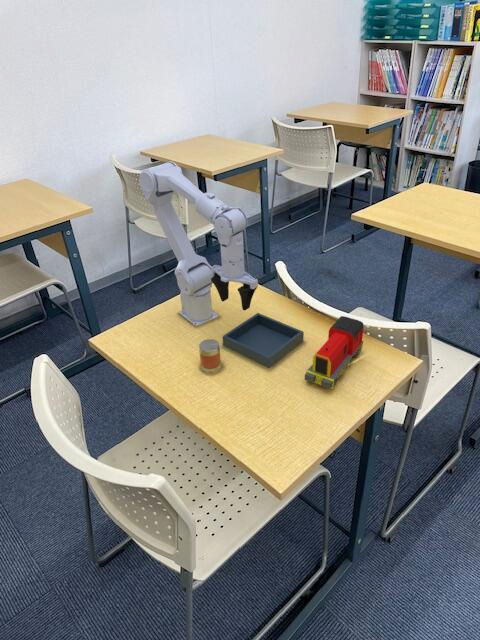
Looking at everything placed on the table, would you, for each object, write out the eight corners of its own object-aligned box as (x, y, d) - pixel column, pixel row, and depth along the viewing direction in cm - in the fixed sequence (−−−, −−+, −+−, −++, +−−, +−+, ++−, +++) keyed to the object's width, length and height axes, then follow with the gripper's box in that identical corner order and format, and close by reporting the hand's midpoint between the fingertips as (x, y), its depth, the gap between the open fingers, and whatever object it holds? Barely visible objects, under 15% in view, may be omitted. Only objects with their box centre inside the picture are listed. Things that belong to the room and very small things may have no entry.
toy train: (362, 352, 123) (366, 319, 118) (330, 396, 110) (332, 361, 105) (338, 344, 127) (340, 312, 121) (303, 386, 113) (304, 351, 108)
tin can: (197, 366, 121) (194, 344, 118) (213, 359, 124) (211, 336, 120) (208, 376, 118) (206, 353, 114) (225, 368, 120) (223, 345, 117)
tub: (223, 347, 128) (222, 336, 126) (258, 323, 137) (257, 312, 135) (269, 370, 119) (269, 358, 117) (303, 342, 128) (303, 331, 126)
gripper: (200, 255, 123) (205, 301, 130) (244, 271, 114) (246, 319, 122) (219, 246, 127) (223, 291, 134) (262, 260, 119) (263, 307, 126)
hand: (235, 304), depth 128 cm, fingers open, 7 cm apart
